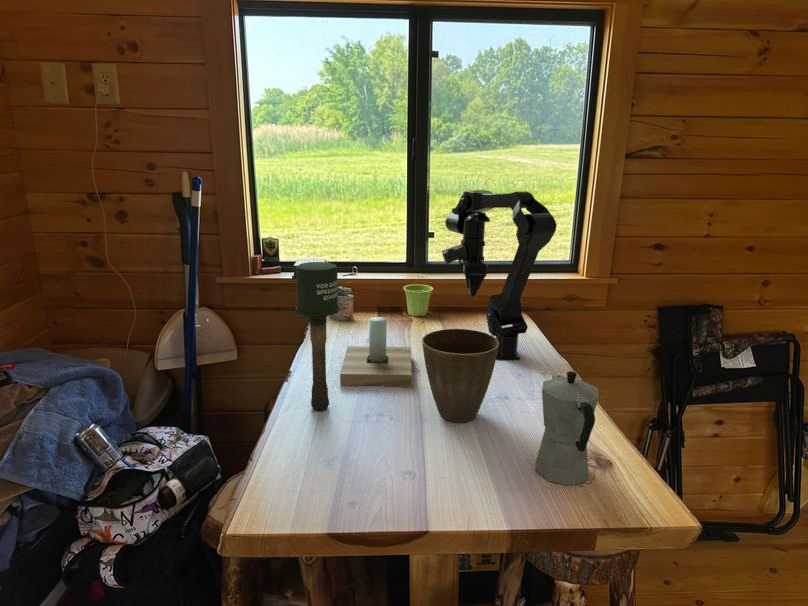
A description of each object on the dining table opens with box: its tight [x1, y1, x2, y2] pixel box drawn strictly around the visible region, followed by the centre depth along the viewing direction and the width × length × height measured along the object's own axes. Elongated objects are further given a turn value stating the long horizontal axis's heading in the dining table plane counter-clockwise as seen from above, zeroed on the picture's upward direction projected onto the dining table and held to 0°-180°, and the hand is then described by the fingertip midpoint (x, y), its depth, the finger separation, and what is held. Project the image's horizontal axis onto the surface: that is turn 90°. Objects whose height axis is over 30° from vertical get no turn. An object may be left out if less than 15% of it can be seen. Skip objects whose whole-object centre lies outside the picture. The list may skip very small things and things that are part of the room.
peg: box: [368, 316, 388, 364], centre depth 134 cm, size 4×4×13 cm
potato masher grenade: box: [295, 261, 340, 412], centre depth 112 cm, size 8×9×30 cm
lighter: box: [328, 286, 355, 322], centre depth 175 cm, size 8×3×10 cm, turn 73°
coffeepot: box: [534, 370, 600, 486], centre depth 92 cm, size 15×9×18 cm, turn 6°
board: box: [339, 345, 413, 388], centre depth 135 cm, size 18×16×3 cm
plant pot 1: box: [403, 283, 434, 317], centre depth 181 cm, size 9×9×9 cm
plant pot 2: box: [421, 328, 499, 424], centre depth 113 cm, size 15×15×16 cm
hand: (470, 292), depth 158 cm, fingers open, 9 cm apart
